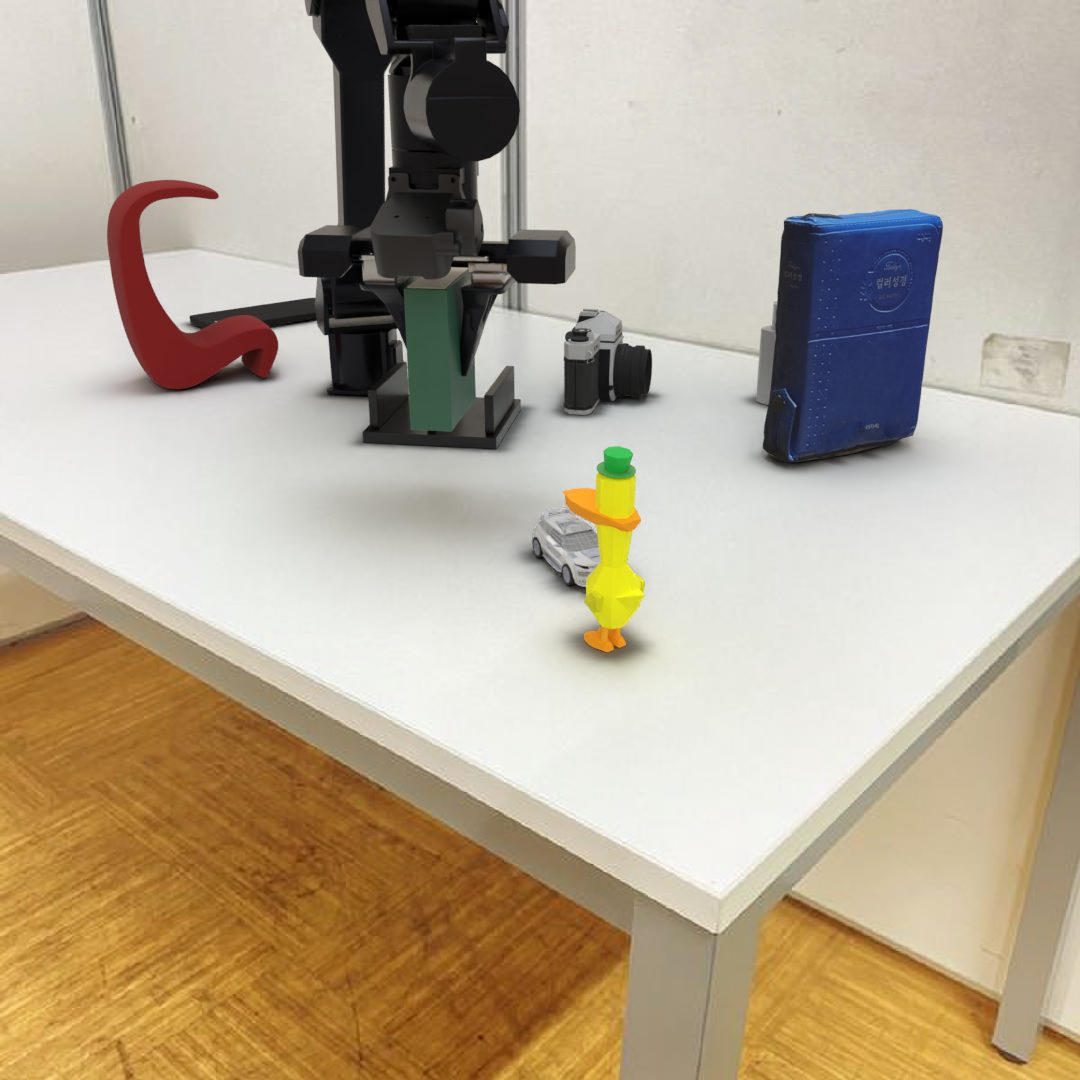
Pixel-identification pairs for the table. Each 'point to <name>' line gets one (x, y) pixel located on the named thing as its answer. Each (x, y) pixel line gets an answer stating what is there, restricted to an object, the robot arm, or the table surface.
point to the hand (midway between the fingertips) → (442, 374)
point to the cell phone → (264, 313)
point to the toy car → (567, 545)
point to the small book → (437, 352)
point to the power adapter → (766, 360)
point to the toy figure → (611, 546)
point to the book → (850, 331)
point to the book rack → (472, 431)
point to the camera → (602, 363)
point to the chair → (145, 321)
